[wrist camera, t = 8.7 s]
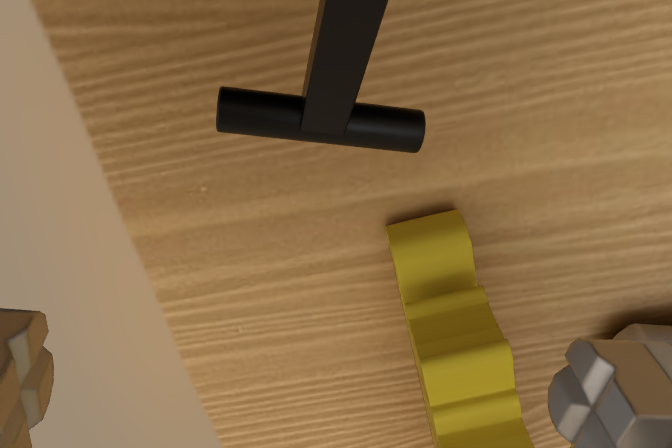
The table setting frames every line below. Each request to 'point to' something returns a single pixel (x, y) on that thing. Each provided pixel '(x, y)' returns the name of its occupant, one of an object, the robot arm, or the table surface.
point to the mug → (646, 333)
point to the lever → (328, 91)
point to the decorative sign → (455, 336)
